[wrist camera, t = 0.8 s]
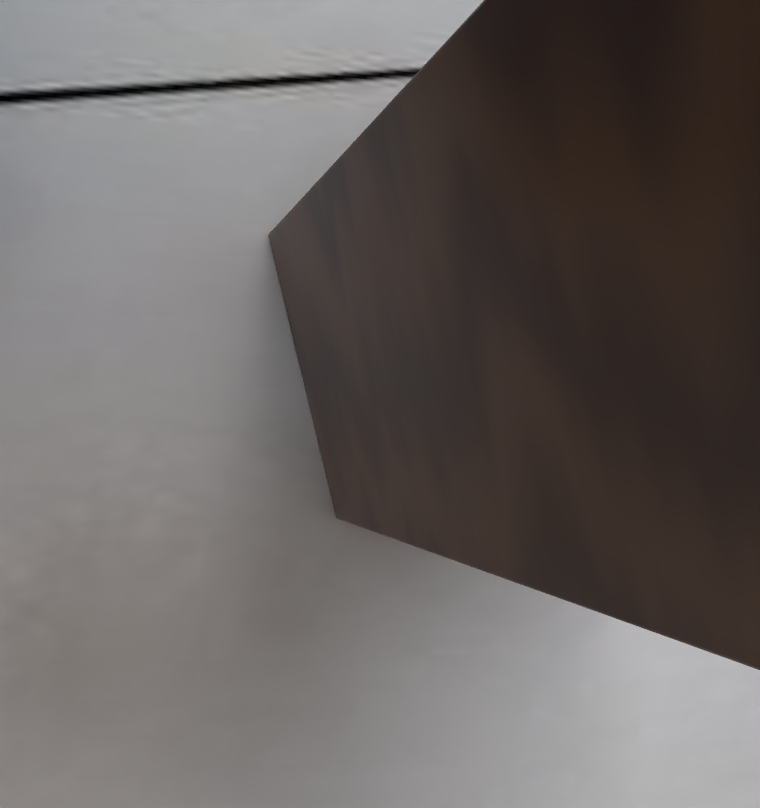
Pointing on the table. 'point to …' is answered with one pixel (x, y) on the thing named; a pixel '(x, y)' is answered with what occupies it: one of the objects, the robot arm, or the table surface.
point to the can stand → (553, 310)
